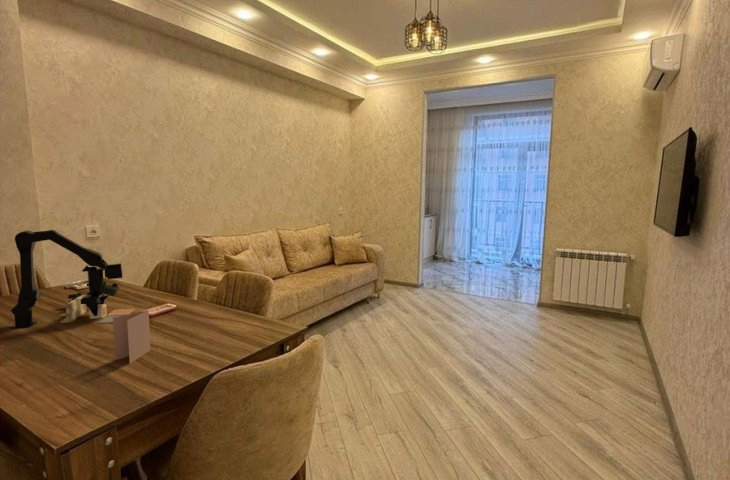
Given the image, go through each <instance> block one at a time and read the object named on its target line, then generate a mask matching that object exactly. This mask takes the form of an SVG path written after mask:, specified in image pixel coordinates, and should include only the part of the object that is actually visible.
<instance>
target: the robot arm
mask: <svg viewBox="0 0 730 480" xmlns="http://www.w3.org/2000/svg"><path fill="white" fill-rule="evenodd" d="M44 241H51V242H52V243H55V244H57V245H59V246H60V247H61V248H64V249H66V250H67V251H69V252H71V253H72V254H74V255H76V256H77V257H79V258H80V259H81V260H82V261H83V262H84V263H85V264H86V265H85V267H84V268H82V269H81V271H82V272H84V273H85V272H87V280H88V281H87V283H86V287H88V291H87V292H86V296H85V297H83V298H82V299H81V300H80V302H81V304H86V305H87V306H88V307H87V308H88V310H89V309H90V310H91V312H92V313H93V315H94V316H97V315H98V305H99V304H105V301H106V300H107V298H109V297H115V296H117V295H118V292H119V290H120V286H119V284H118V283H116V282H114V283H112V284H107V281H106V280H104V278H106V279H108V280H115V279H116V280H117V279H123V278H124V276H123V268H122V263H121V262H120V263H114V264H109V263H108V262H107V261H105V259H104V258H103V255H102V253H100V252H98V251H96V250H94V249H90V248H87V247H84V246H82V245H80V244H79V243H77V242H76V241H74V240H72V239H70V238H68V237H67V236H64V235H62V234H61V233H59V232H57V230H55V229H49V230H41V231H31V230H23V231H20V232H18V233H17V234H15V236H14V242H15V245H16V249H17V251H18V252H19V262H20V263H19V266H20V285H21V287H20V290H19V293H18V298H17V304H15V305H14V306H13V307H12V309H10V312H11V313H12V315H14V324H13V325H12V326H10V328H11V329H17V328H30V327H31V326H33V325H35V324H37V323H38V321H37V320H34V318H33V317H34V316H33V309H32V308H33V307H34V306H35V305H36V304H37V303H38V301H39V299H41V294H40V293H41V292H40V291H41V288H36V286H35V279H34V278H35V276H34V253H33V252H34V249H35V245H36V243H39V242H44Z"/></svg>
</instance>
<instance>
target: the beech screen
mask: <svg viewBox="0 0 730 480" xmlns="http://www.w3.org/2000/svg"><path fill="white" fill-rule="evenodd" d="M85 296H87V294H85V295H81V296H79V297H78V298H76V299H74V300H73V301H72V300H70V301H71V302H69V301H68V302H67V303H65V315H66V317H65V318H64V319H62V320H60V321H59V323H60V324H67V323H72V322H74V321H76V319H78V318H79V317H81V316H82V315H84V314H85V313H86V312H87V311H88V310H87V307H86V304H81V302H80V300H81V299H82V298H83V297H85Z"/></svg>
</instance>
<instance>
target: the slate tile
mask: <svg viewBox="0 0 730 480" xmlns="http://www.w3.org/2000/svg"><path fill="white" fill-rule="evenodd" d="M120 316H123V315H120ZM113 317H118V316H107V315H106V316H104V317H103V318H101V319H100V320H99V321H98V322H97V324H99V325H100V324H113Z"/></svg>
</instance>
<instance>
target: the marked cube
mask: <svg viewBox="0 0 730 480" xmlns="http://www.w3.org/2000/svg"><path fill="white" fill-rule="evenodd" d="M107 311H108V309H107V304H106V303H104V304H99V305H98V315H97V316H94V315H93V313H92V312H91V310H90V309H89V308H88V312H89V319H90V320H91V319H92V320H93V319H103V318H104V317H106V316H107V315H108V314H107V313H108V312H107Z"/></svg>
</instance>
